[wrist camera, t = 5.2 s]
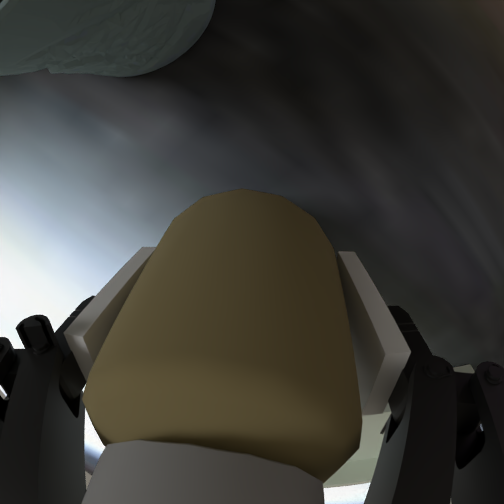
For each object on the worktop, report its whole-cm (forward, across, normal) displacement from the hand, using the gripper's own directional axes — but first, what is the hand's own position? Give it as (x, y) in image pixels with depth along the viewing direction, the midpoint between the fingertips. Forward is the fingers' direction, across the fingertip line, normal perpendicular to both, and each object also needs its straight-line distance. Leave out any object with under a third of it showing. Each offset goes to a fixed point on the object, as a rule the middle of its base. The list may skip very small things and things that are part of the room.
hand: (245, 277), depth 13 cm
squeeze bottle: (+3, 0, 0) cm, 3 cm away
